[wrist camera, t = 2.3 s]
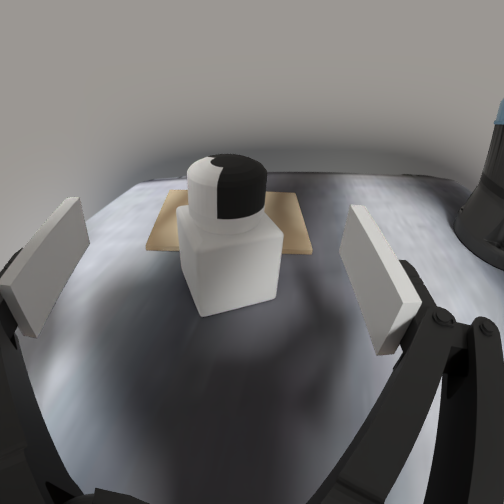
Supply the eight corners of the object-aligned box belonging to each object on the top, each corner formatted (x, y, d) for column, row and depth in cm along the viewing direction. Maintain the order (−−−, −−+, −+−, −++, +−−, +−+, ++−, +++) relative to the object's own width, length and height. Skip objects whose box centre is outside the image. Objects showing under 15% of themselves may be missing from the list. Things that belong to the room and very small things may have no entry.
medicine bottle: (247, 255, 34) (252, 144, 27) (277, 299, 29) (292, 174, 22) (180, 269, 32) (171, 153, 25) (200, 319, 27) (191, 186, 20)
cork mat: (294, 196, 46) (295, 192, 46) (311, 254, 35) (312, 249, 35) (170, 193, 45) (169, 189, 45) (146, 250, 34) (145, 245, 34)
